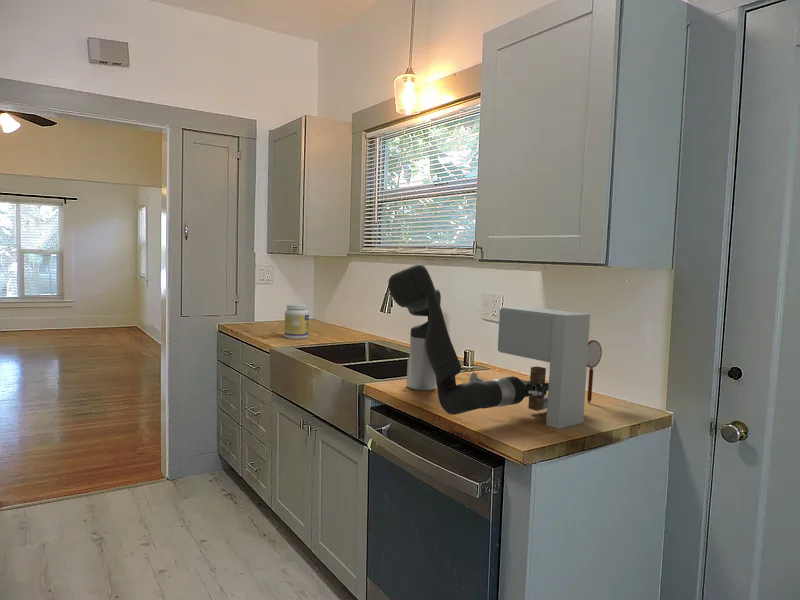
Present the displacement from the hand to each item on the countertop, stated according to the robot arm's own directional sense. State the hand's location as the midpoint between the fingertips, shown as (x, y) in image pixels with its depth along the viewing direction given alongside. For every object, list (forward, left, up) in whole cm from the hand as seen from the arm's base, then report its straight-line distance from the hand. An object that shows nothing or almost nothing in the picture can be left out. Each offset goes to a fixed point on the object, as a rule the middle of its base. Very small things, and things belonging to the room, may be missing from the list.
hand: (543, 385), depth 167 cm
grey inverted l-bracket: (+2, -4, -8) cm, 9 cm away
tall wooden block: (0, -1, -7) cm, 7 cm away
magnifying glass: (+1, +22, -8) cm, 24 cm away
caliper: (-22, +3, -8) cm, 24 cm away
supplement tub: (-158, +5, -8) cm, 158 cm away
